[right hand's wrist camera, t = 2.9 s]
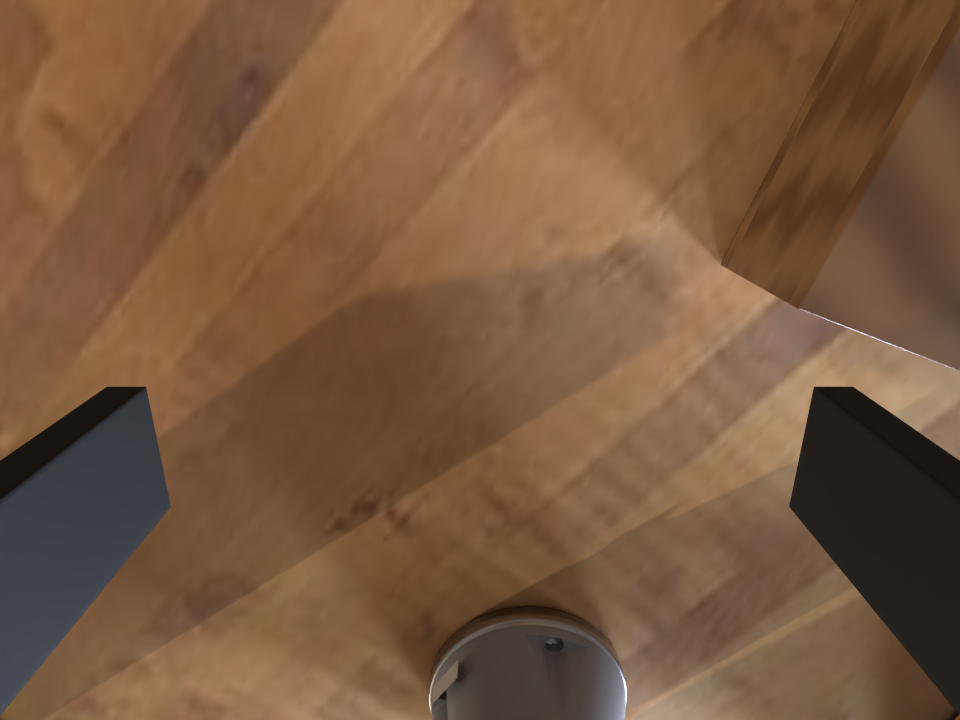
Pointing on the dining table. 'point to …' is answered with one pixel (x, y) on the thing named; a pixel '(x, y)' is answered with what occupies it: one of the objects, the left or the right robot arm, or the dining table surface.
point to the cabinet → (871, 185)
